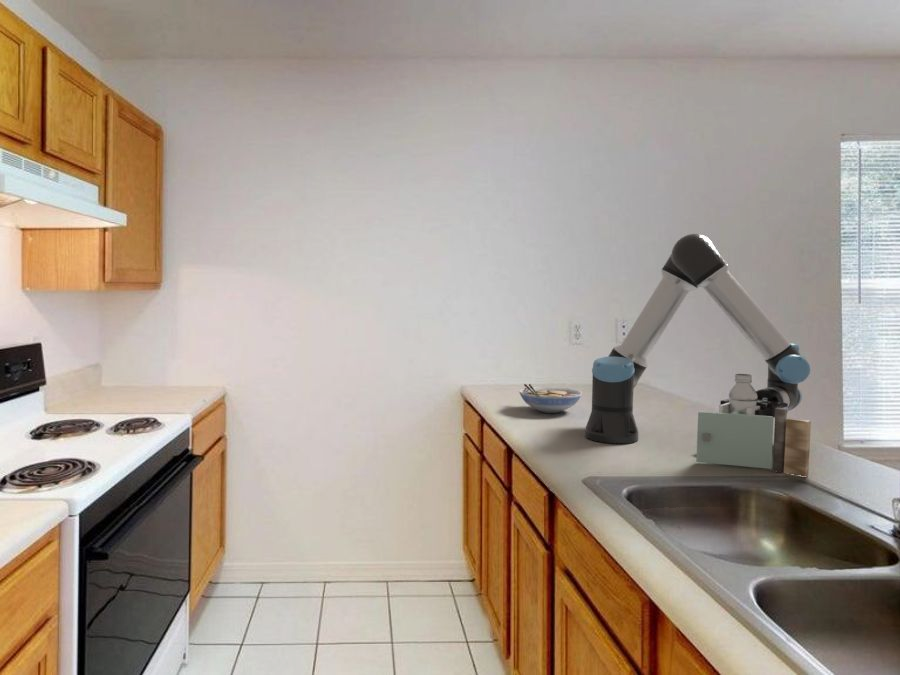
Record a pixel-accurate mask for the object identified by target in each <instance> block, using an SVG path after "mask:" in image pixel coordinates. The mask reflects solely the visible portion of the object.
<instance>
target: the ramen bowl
mask: <svg viewBox="0 0 900 675" xmlns="http://www.w3.org/2000/svg"><path fill="white" fill-rule="evenodd" d="M523 385H524V388H520V389H519V391H518V393H519V395H520V396H521V398H522V400H523V401H524V403H525V404H527V405H528V406H529V407H531V408H533V409H535V410H538V412H541V413H543V414H558V413H561V412H563V411H565V410H568V409H571V408H573V406H575V405H576V404H577V403H578V401H579V399H580V398H581V396H582V395H583V392H582V391H581V390H578V389H574V388H568V387H567V388H566V387H557V386H532V384H531V383H529V384H526V383H524V384H523Z"/></svg>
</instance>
